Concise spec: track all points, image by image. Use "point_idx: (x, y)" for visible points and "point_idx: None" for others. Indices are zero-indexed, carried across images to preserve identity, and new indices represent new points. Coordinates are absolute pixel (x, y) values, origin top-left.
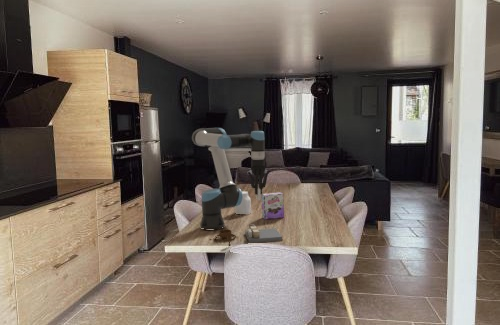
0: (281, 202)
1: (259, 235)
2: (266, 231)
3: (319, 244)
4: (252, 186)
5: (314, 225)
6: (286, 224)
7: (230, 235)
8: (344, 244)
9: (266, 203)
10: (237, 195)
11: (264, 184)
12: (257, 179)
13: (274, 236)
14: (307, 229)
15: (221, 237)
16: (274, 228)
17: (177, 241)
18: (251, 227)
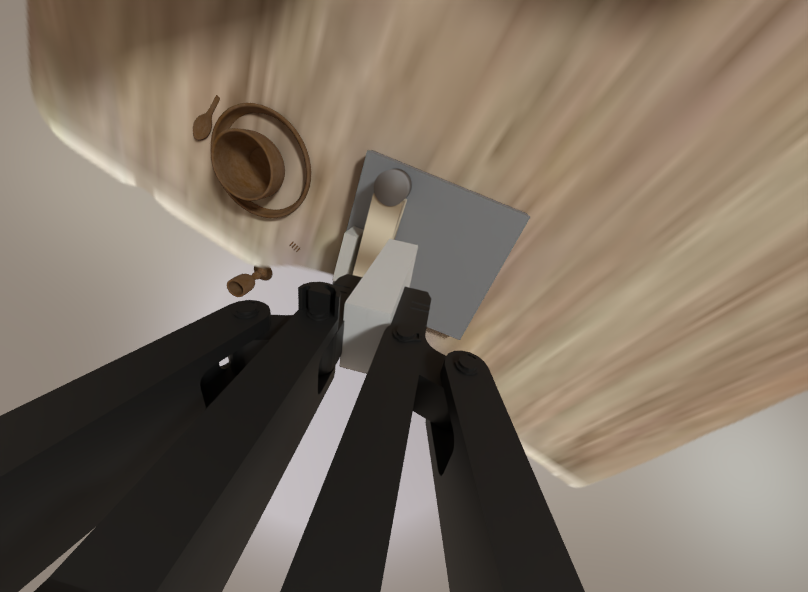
0: None
1: None
2: (451, 239)
3: (530, 427)
4: (222, 369)
5: (800, 248)
6: (710, 110)
7: (273, 193)
8: (589, 467)
9: None
10: None
11: (447, 459)
12: (225, 562)
13: (436, 320)
14: (682, 284)
15: (236, 178)
16: (521, 217)
17: (50, 62)
18: (368, 226)
